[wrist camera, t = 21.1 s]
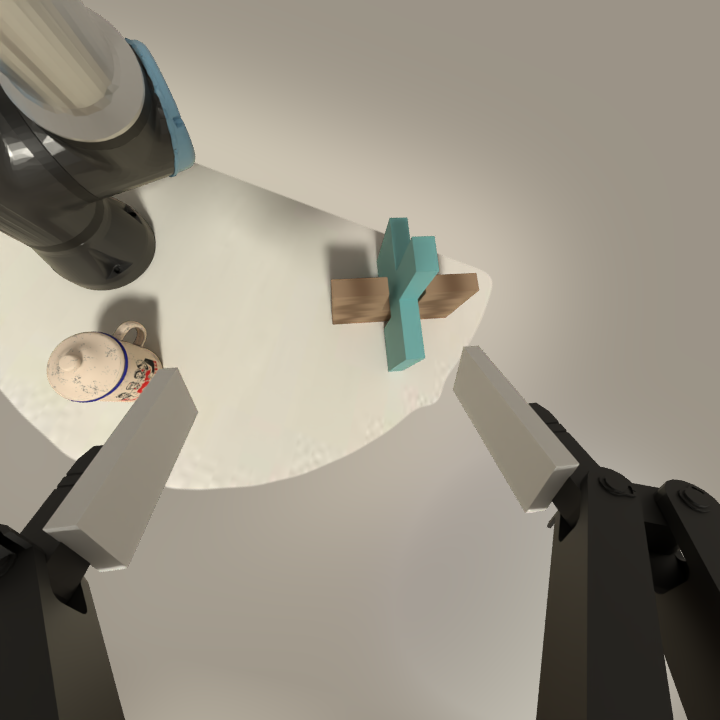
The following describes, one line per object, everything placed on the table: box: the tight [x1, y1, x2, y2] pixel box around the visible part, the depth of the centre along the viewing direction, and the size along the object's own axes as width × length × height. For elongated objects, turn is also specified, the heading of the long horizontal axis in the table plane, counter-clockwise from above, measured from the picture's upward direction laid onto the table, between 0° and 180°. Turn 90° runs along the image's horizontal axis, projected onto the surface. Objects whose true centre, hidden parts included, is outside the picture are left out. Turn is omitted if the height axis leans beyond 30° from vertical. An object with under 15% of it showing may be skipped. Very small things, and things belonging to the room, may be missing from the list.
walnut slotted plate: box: [331, 273, 479, 324], centre depth 44 cm, size 20×2×12 cm, turn 95°
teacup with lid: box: [47, 321, 162, 402], centre depth 39 cm, size 12×9×12 cm
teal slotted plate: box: [377, 218, 439, 372], centre depth 40 cm, size 20×2×20 cm, turn 5°
